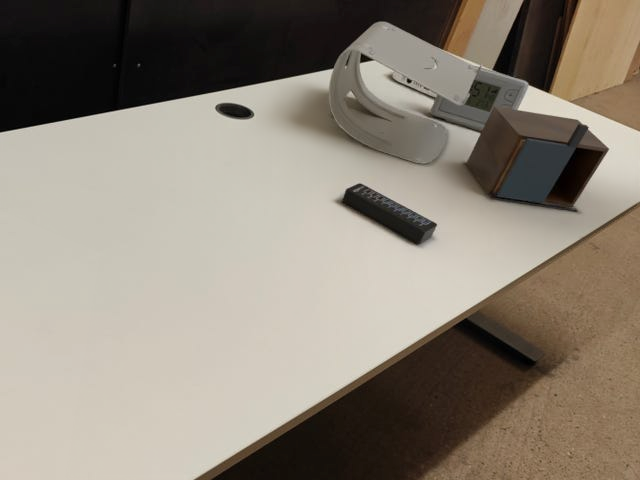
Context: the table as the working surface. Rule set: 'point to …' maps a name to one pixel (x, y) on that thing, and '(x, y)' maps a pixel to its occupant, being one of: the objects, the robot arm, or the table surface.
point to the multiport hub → (389, 213)
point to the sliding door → (539, 167)
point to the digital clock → (482, 99)
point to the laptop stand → (399, 126)
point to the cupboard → (509, 137)
